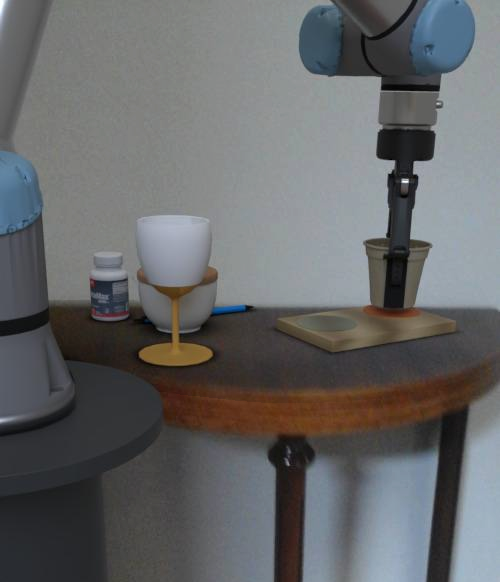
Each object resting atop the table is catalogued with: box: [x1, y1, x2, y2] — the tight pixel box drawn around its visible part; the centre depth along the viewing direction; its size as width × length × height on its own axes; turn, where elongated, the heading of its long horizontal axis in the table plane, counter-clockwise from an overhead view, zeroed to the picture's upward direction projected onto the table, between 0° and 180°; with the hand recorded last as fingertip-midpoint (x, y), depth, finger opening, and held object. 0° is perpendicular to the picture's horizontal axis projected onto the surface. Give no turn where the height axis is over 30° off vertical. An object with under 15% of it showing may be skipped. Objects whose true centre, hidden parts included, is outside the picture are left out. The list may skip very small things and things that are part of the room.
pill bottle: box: [89, 251, 130, 322], centre depth 116 cm, size 5×5×9 cm
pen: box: [132, 304, 255, 324], centre depth 118 cm, size 1×19×1 cm
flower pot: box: [362, 237, 434, 309], centre depth 115 cm, size 9×9×9 cm
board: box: [276, 305, 457, 354], centre depth 113 cm, size 21×13×2 cm, turn 121°
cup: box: [135, 214, 214, 367], centre depth 98 cm, size 9×9×16 cm
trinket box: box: [136, 265, 219, 334], centre depth 111 cm, size 11×11×9 cm
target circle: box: [363, 304, 420, 318], centre depth 117 cm, size 8×8×1 cm
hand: (392, 299), depth 117 cm, fingers closed on flower pot, 8 cm apart
